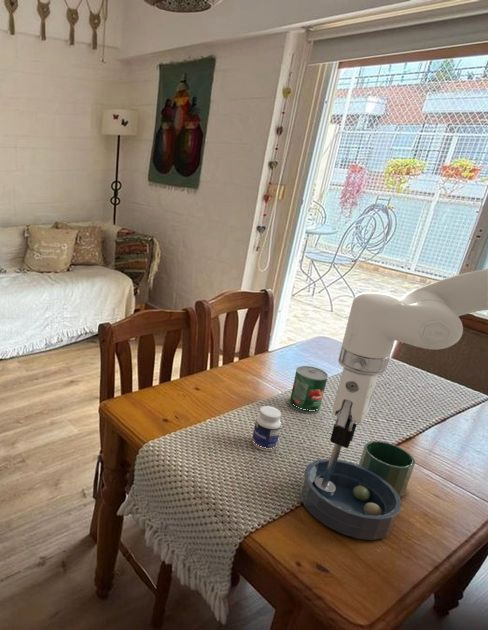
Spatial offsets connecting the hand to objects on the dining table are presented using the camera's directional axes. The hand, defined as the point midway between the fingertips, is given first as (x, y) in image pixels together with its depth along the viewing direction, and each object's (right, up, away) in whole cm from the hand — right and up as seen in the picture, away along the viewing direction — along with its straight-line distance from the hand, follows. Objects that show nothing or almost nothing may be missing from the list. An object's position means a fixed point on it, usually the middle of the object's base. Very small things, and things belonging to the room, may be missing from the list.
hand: (341, 440), depth 88 cm
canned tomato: (+14, -1, +39) cm, 41 cm away
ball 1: (+7, -12, +4) cm, 15 cm away
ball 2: (+6, -14, 0) cm, 15 cm away
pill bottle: (-5, -8, +22) cm, 24 cm away
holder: (+15, -12, +10) cm, 22 cm away
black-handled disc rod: (-1, -12, +5) cm, 13 cm away
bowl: (+2, -15, +3) cm, 16 cm away
